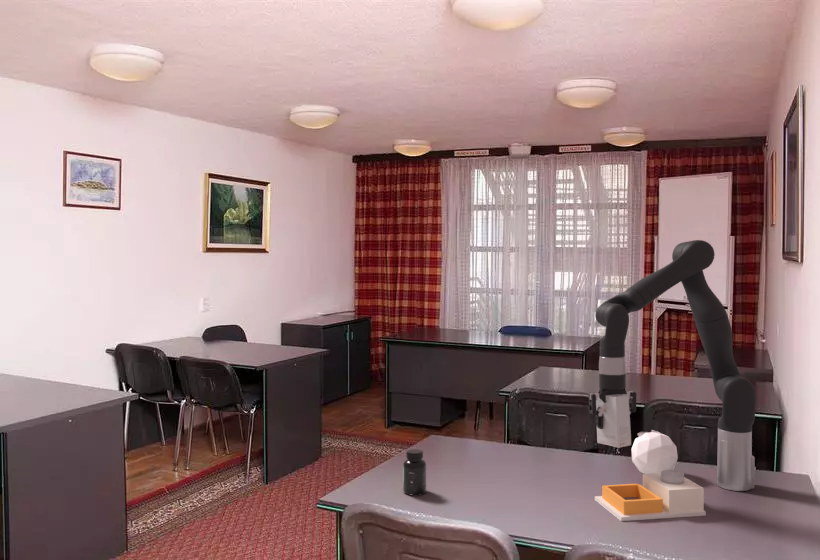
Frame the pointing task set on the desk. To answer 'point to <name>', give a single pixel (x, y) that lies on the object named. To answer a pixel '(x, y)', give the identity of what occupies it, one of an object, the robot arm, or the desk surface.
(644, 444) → the geodesic sphere
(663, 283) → the robot arm
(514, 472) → the desk surface
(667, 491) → the box holder with button
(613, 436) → the skincare box
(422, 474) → the supplement bottle
